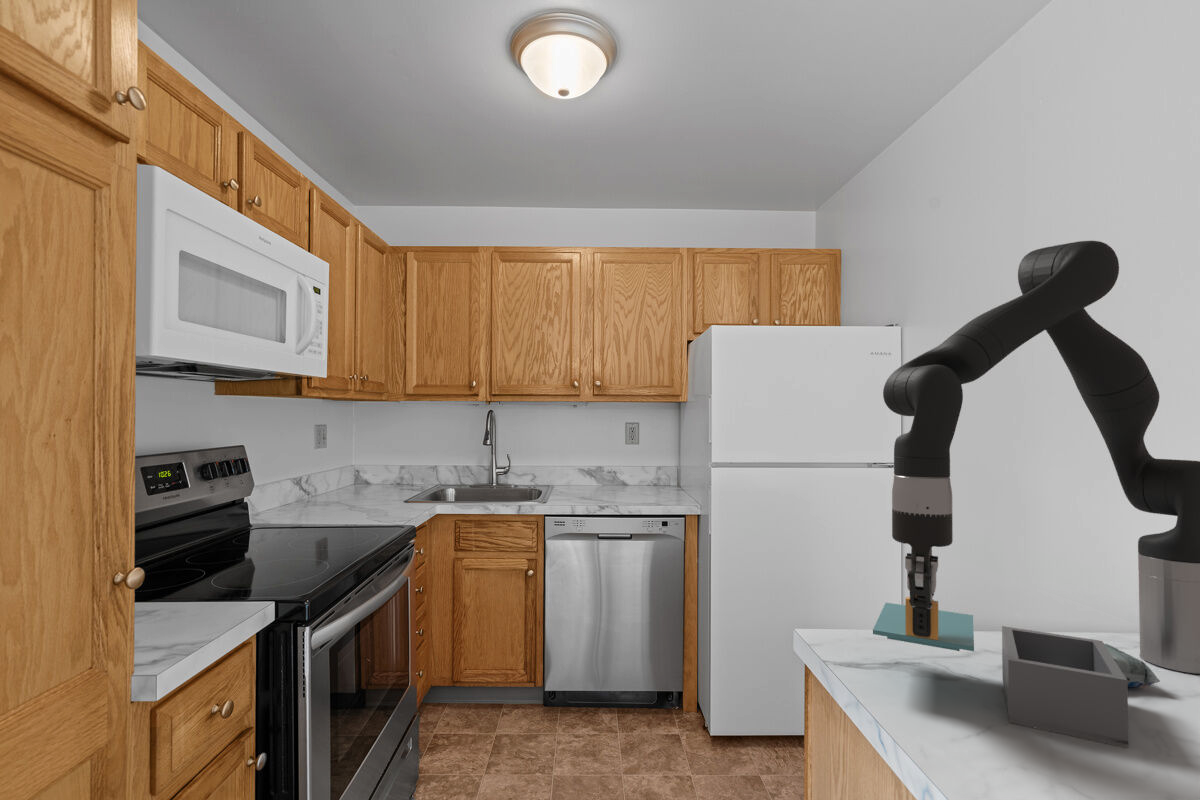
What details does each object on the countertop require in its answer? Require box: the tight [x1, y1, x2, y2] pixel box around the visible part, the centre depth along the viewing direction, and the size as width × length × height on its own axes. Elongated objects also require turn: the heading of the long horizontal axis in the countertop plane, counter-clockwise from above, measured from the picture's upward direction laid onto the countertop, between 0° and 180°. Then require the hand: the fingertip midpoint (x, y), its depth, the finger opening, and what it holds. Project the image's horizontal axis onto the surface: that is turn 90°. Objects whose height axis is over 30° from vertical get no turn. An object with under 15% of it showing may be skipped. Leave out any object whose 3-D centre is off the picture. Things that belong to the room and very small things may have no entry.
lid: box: [872, 596, 975, 652], centre depth 93 cm, size 16×12×6 cm
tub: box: [1001, 625, 1129, 749], centre depth 85 cm, size 16×12×8 cm
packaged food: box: [1104, 643, 1161, 688], centre depth 96 cm, size 9×12×5 cm
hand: (922, 633), depth 87 cm, fingers closed on lid, 1 cm apart
